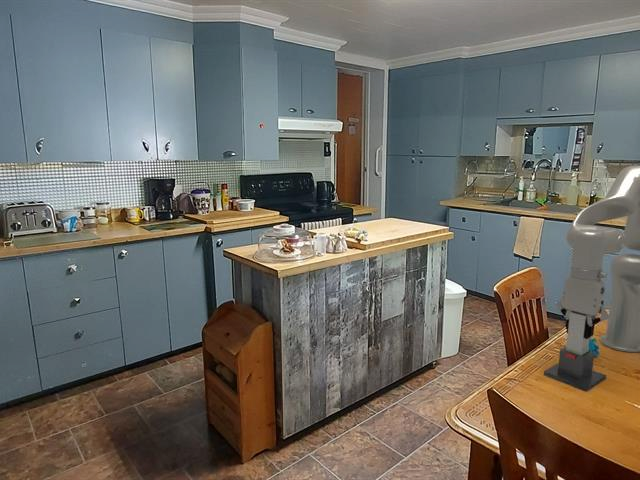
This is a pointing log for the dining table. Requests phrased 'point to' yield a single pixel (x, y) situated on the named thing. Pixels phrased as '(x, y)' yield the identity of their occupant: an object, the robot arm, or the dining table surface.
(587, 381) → the stand
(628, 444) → the dining table surface
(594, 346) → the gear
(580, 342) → the post
